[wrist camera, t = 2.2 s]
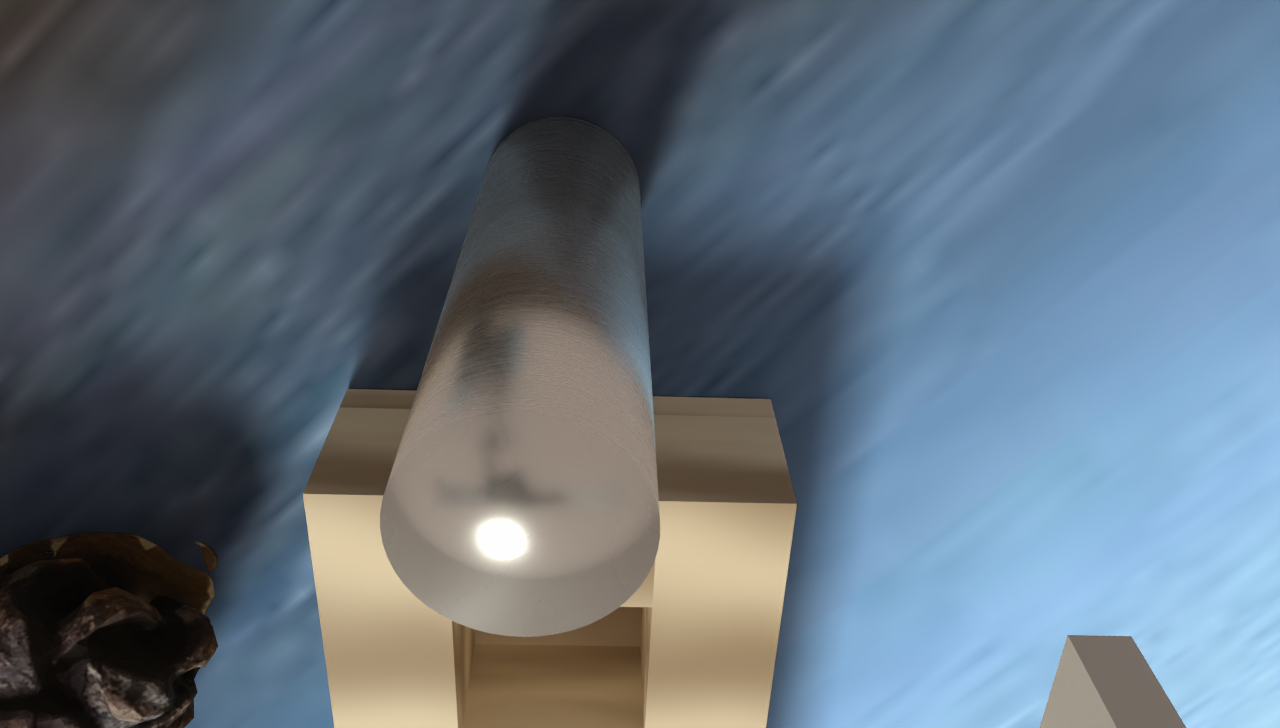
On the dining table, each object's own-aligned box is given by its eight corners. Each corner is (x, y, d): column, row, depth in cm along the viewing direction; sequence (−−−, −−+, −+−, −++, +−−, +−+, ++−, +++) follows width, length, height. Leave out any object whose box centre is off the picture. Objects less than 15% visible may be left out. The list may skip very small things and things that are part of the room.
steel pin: (481, 113, 27) (368, 409, 14) (643, 119, 27) (667, 417, 14) (486, 262, 29) (390, 635, 16) (636, 266, 29) (653, 639, 16)
